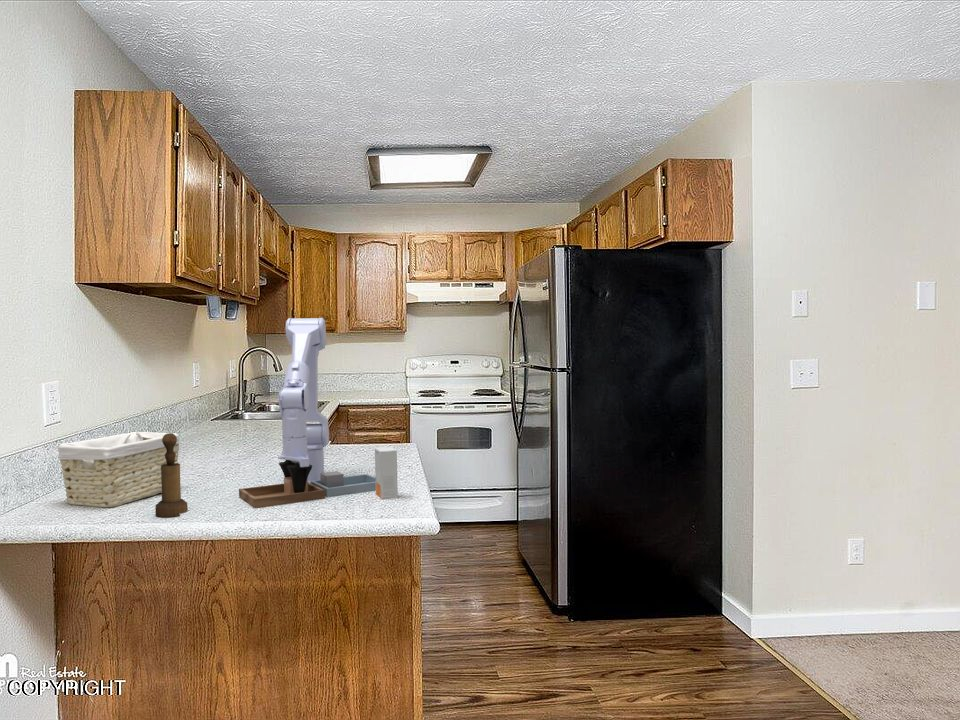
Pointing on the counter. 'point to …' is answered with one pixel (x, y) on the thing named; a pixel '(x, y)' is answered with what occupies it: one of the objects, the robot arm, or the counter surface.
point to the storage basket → (114, 468)
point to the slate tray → (350, 485)
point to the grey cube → (332, 479)
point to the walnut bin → (278, 495)
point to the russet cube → (291, 486)
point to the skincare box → (386, 472)
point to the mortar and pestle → (170, 483)
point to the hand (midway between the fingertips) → (295, 492)
